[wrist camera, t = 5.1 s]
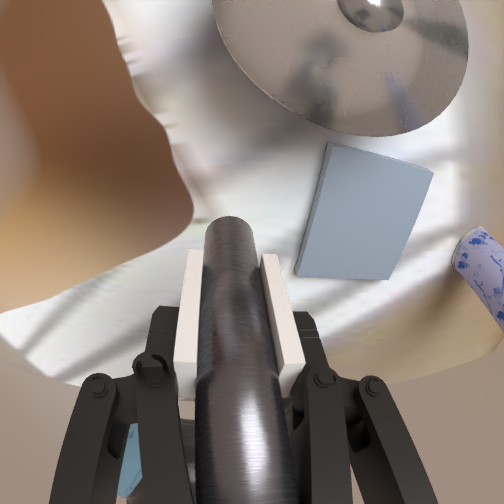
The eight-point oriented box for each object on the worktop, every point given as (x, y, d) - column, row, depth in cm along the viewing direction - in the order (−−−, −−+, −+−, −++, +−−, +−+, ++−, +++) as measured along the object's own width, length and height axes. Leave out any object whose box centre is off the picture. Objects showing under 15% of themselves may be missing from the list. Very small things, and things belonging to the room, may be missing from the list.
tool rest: (384, 273, 32) (388, 279, 31) (294, 269, 30) (296, 276, 29) (427, 169, 24) (433, 173, 23) (328, 142, 23) (332, 145, 22)
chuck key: (249, 258, 19) (289, 532, 6) (203, 255, 18) (199, 538, 5) (256, 218, 17) (321, 534, 4) (206, 214, 17) (196, 546, 3)
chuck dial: (429, 156, 18) (460, 174, 15) (194, 107, 16) (186, 115, 12) (456, -21, 8) (487, -25, 5) (237, -102, 5) (240, -129, 2)
